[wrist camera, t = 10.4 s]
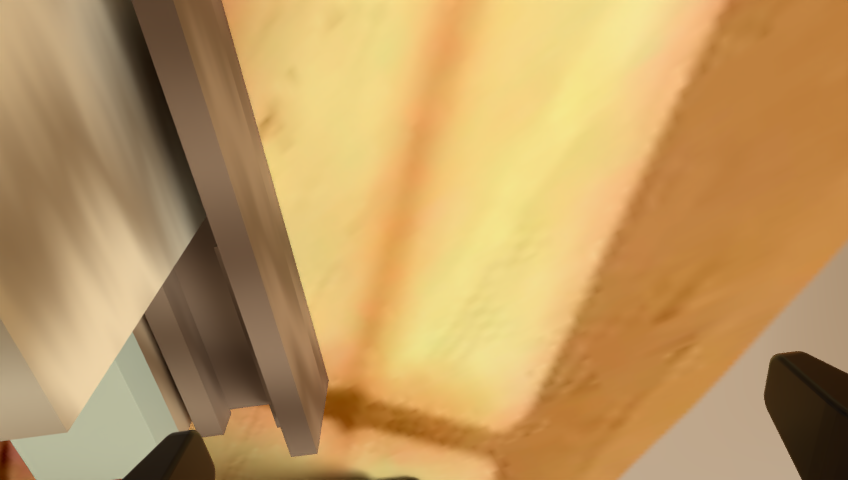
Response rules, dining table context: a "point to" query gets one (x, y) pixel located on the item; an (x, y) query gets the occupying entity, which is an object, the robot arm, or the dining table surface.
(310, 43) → the dining table surface
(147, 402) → the sage offcut
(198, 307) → the walnut rack
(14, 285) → the birch sheet
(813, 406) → the robot arm
